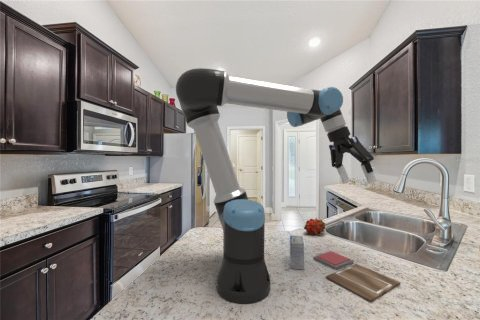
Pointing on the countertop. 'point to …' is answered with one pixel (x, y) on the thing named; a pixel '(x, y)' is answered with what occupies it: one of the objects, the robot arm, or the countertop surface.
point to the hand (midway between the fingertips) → (358, 182)
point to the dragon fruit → (314, 226)
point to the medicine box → (297, 252)
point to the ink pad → (333, 260)
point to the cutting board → (363, 282)
